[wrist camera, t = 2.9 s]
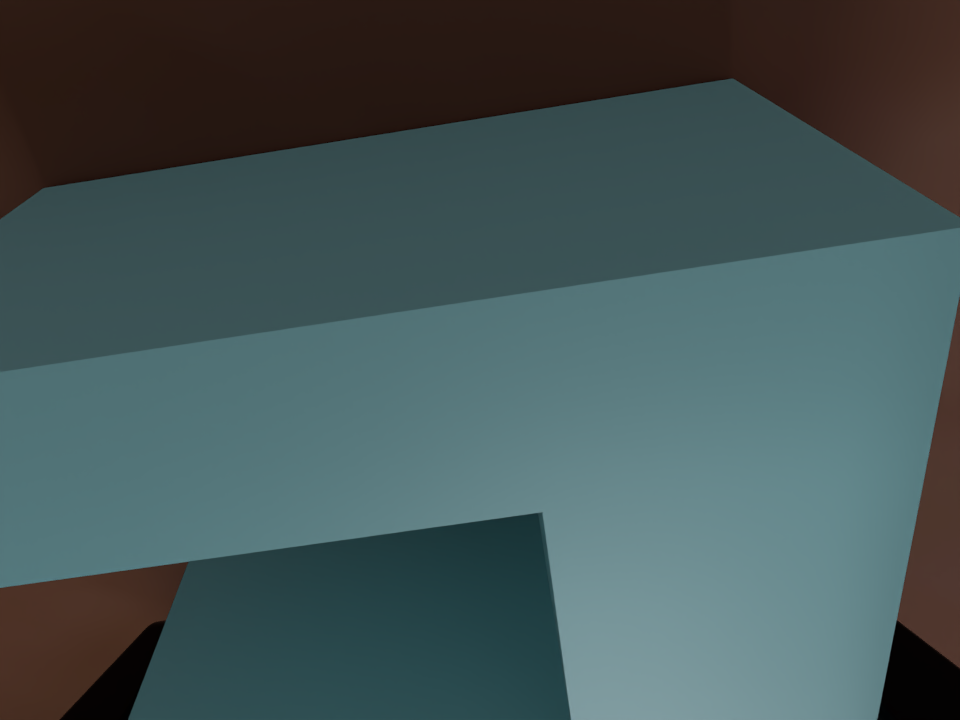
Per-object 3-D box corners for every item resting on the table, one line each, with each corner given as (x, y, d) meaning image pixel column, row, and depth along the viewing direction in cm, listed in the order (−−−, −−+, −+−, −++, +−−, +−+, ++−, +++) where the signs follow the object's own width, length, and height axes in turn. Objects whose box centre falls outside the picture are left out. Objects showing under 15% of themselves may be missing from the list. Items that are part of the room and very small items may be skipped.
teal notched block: (732, 78, 8) (975, 225, 4) (718, 750, 13) (813, 1045, 10) (42, 187, 8) (-265, 412, 4) (319, 800, 14) (277, 1106, 10)
